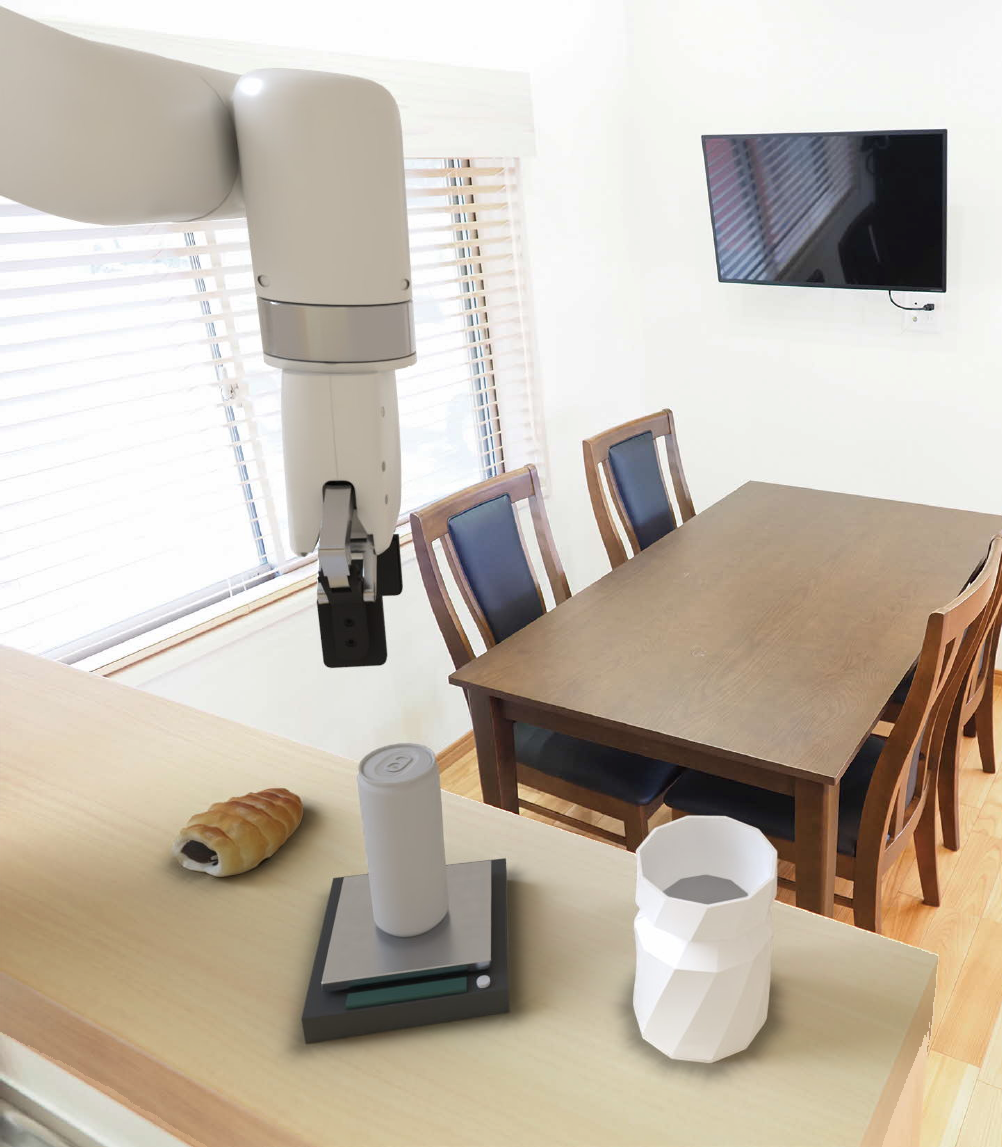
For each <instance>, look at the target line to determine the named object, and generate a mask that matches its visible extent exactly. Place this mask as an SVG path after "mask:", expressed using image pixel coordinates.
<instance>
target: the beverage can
mask: <svg viewBox="0 0 1002 1147" xmlns="http://www.w3.org/2000/svg"><path fill="white" fill-rule="evenodd" d="M436 758H437V757H436V754H435V752H434V751H433V750H432V749H431V748H429V747H428V746H426V745H422V744H419V743H414V742H413V743H412V742H401V743H400V742H399V743H393V744H387V745H384V746H382V747H379V748H376V749H374V750H372V751H370V752H369V753H367V754H366V755H364V757H363V758H361V760H360V762H359V764H358V767H357V769H358V774H357V775H356V776H357V777H356V781H357V790H358V791H357V792H358V798H359V806H360V814H361V822H362V824H361V825H362V831H363V840H364V848H365V855H366V856H365V857H366V865H367V872H368V873H367V874H369V882H370V890H371V898H372V907H373V915H374V921H375V923H376V924H377V926H378V927H379V928H380V929H382V930H383V931H384V932H386V933H388V934H391V935H394V936H399V937H411V936H416V935H420V934H422V933H425V932H427V931H429V930H431V929H432V928H434V927H435V926H436V925H437V924H438V923H439V922H440V921H441V920H442V919H443V918H444V917H445V915H446V913H447V911H448V906H449V897H448V885H447V873H446V865H447V862H446V850H445V839H444V838H445V837H444V821H443V806H442V805H443V804H442V803H443V802H442V791H441V788H442V787H441V778H440V768H439V763H438V761H437V759H436Z"/></svg>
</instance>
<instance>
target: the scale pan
mask: <svg viewBox="0 0 1002 1147" xmlns="http://www.w3.org/2000/svg"><path fill="white" fill-rule="evenodd" d="M480 861H481V862H477V861H471V862H472V863H468V862H463V863H464V864H459V863H454V864H455V865H451V864H446V873H447V885H448V897H449V906H448V911H447V913H446V915H445V917H444V918H443V919H442V920H441V921H440V922H439V923H438V924H437V925H436V926H435V927H434V928H432V929H431V930H429V931H427V932H425V933H422V934H420V935H416V936H411V937H399V936H394V935H391V934H388V933H386V932H384V931H383V930H382V929H380V928H379V927H378V926H377V924H376V923H375V921H374V915H373V907H372V898H371V890H370V882H369V874H368V873H367V874H368V875H363V874H358V875H359V876H355V875H349V876H350V877H346V876H343V877H344V879H343V883H342V888H341V893H340V897H339V902H338V907H337V912H336V916H335V921H334V926H333V930H332V935H331V940H330V944H329V949H328V954H327V959H326V963H325V968H324V973H323V977H322V982H321V985H322V991H323V992H330V991H337V990H344V989H351V988H358V987H365V986H372V985H379V984H386V983H393V982H401V981H408V980H415V979H422V978H429V977H436V976H443V975H450V974H457V973H464V972H471V971H478V970H485V969H491V967H492V864H491V861H485V860H480Z"/></svg>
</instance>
